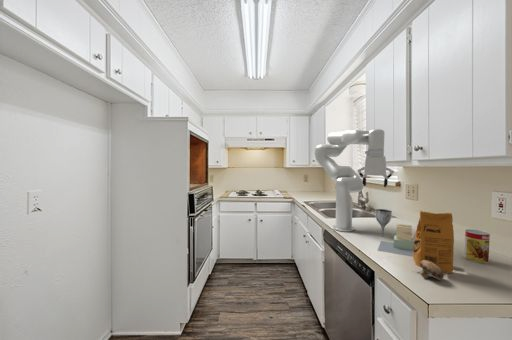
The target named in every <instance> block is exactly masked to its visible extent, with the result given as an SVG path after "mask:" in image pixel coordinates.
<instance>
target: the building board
mask: <svg viewBox="0 0 512 340" xmlns="http://www.w3.org/2000/svg"><path fill="white" fill-rule="evenodd" d="M393 247H394V242H392V241H391V242H390V241H385V240H380V243H379V245H378V248H377V251H378V252H383V253H390V254H395V255H401V256H406V257H412V258H413V251H411V250H405V249H399V248H393Z"/></svg>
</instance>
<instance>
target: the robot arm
mask: <svg viewBox="0 0 512 340" xmlns="http://www.w3.org/2000/svg"><path fill="white" fill-rule="evenodd" d="M326 141H327V142H328V143H323V144H322V143H321V144H319V145H316V146H315V149H314V156H315V160H316V162H317V163H318V164H319V165H320V166H321V168H323V171H325V173H326V174H327V175H328V177H329V178H330V179H331V180H332V181H334V188H335V224H333V225H332V229H333V230H335V231H338V232H354V231H355V227H354V226H353V205H354V203H353V198H352V195H351V193H360V192H362V191H363V189H364V188H365V187H366V186H367V176H383V178H384V180H383V187H384V188H386V187H387V186H388V182H389V180H388V179H390V178H391V177H392V176H393V174H394V173H395V171H394V170H393V169H391V168H388V167H387V159H386V155H385V154H384V153H385V130H384V129H381V128H379V129H377V128H376V129H370V130H363V129H362V130H361V129H352V130H351V129H350V130H343V131H333V132H330V133H329V134H328V135H327V138H326ZM350 145H366V146H367V151H364V154H366V156H365V160H364V166H363V167H360V168H359V169H357V172H356V171H355V170H354V168H352V167H351V166H347V165H339V164H338V163H337V162H336V161H335V160H334V159H332V158H337V157H338V156H340V155H341V154H342V153H343V152H344V150H345V149H346V148H347V147H348V146H350ZM362 171H364V174H363V173H362ZM387 171H388V172H389V174H388V175H387Z"/></svg>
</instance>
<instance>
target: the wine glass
mask: <svg viewBox="0 0 512 340" xmlns="http://www.w3.org/2000/svg"><path fill="white" fill-rule="evenodd" d="M374 214H375V219H376V221H377V223H378V224H379V225H380V227H381V237H382V238H383V237H384V238H385V235H384V234H385V233H384V231H385V229H386V228H385V227H386V226H387V225H388V224H389V223H390V222H391V220H392V214H393V211H392V210H391V209H387V208H386V209H385V208H375V213H374Z"/></svg>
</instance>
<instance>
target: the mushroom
mask: <svg viewBox="0 0 512 340" xmlns="http://www.w3.org/2000/svg"><path fill="white" fill-rule="evenodd" d="M419 264H420V266H421V267H420V268H422V270H421V271H419V273H420V276H421V277H422V278H424V279H428V278H434V279H436V280H438V281H442V280H443V279H444V271H442V270H441V269H440V268H439V267H438V266H437V265H435V264H434V263H432V262H431V261H428V260H422V261H420V263H419Z"/></svg>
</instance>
